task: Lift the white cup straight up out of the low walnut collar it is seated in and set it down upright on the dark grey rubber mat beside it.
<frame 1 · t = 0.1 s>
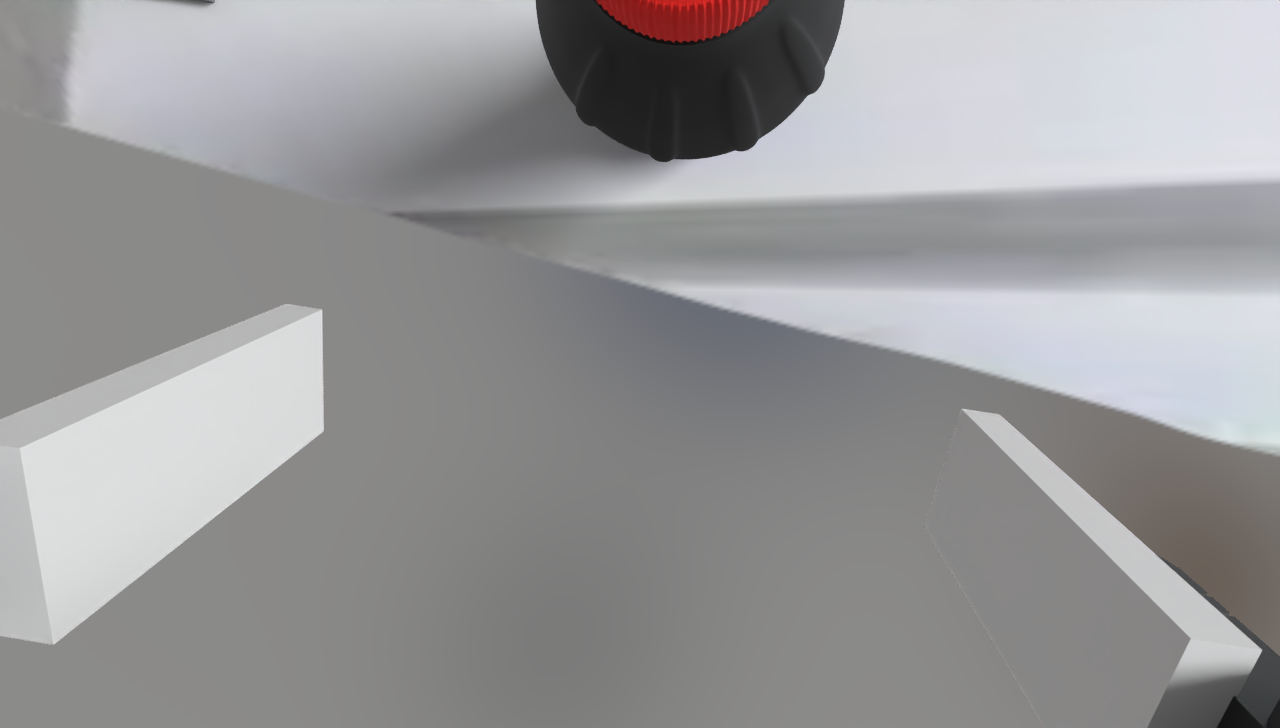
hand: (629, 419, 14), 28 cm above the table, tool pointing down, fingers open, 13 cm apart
cola bottle: (690, 70, 38), on the table
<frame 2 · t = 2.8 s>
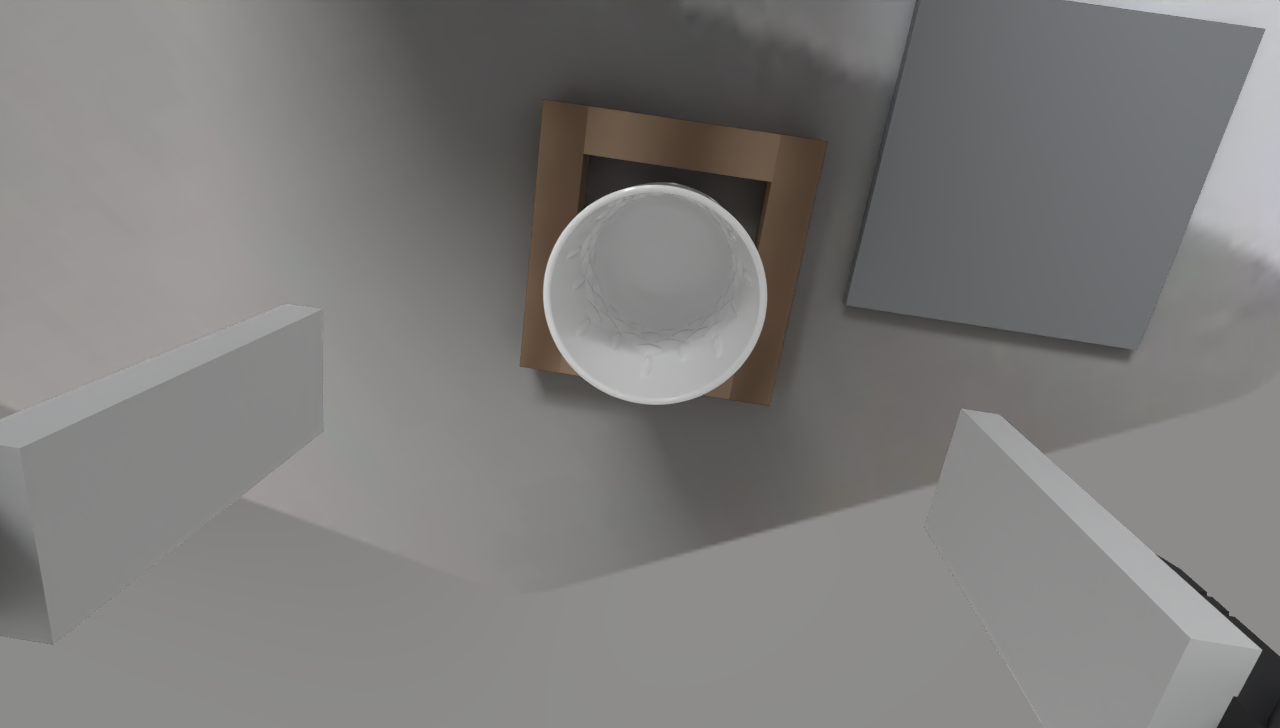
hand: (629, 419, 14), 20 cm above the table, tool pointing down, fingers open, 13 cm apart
grey mat: (1032, 177, 31), on the table
white cup: (664, 253, 34), resting in walnut collar
walnut collar: (664, 254, 33), on the table
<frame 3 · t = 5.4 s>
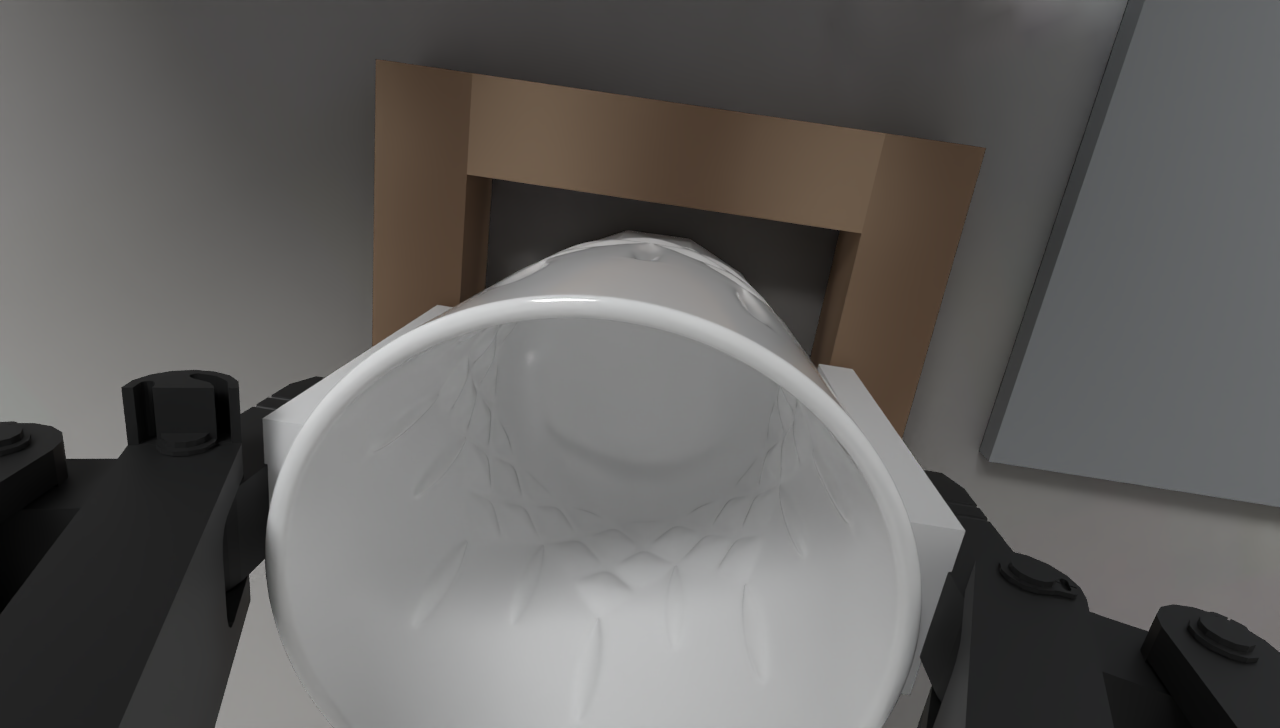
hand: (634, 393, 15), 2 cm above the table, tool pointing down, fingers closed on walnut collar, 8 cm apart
white cup: (642, 358, 18), resting in walnut collar
walnut collar: (641, 361, 18), on the table
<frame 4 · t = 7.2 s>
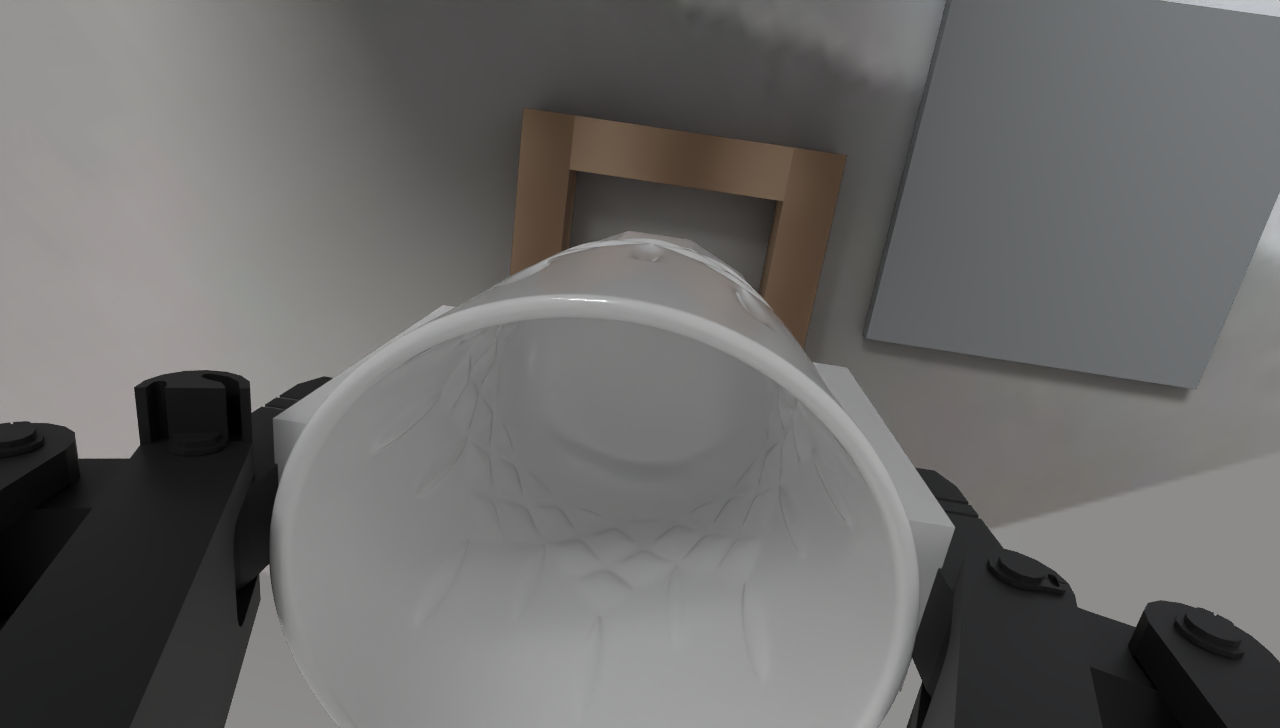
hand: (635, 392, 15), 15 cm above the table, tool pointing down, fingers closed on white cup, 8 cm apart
grey mat: (1078, 195, 27), on the table
white cup: (643, 358, 18), point 12 cm above the table, touching gripper
walnut collar: (662, 281, 30), on the table
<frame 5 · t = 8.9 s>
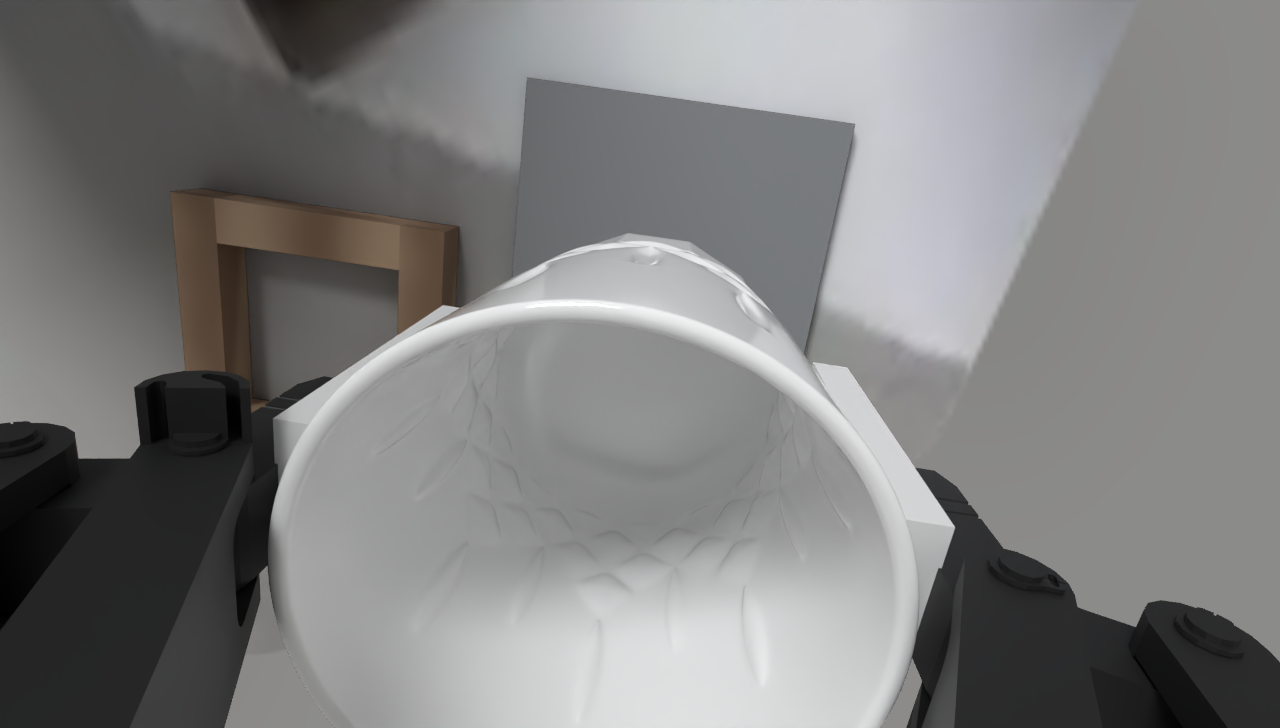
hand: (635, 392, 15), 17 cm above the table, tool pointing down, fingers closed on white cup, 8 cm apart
grey mat: (666, 261, 32), on the table
white cup: (642, 360, 18), point 15 cm above the table, touching gripper
walnut collar: (330, 333, 34), on the table
when the fingers open (4 cm above the table, at t = 11.7 s): white cup moves 1 cm, resting on grey mat.
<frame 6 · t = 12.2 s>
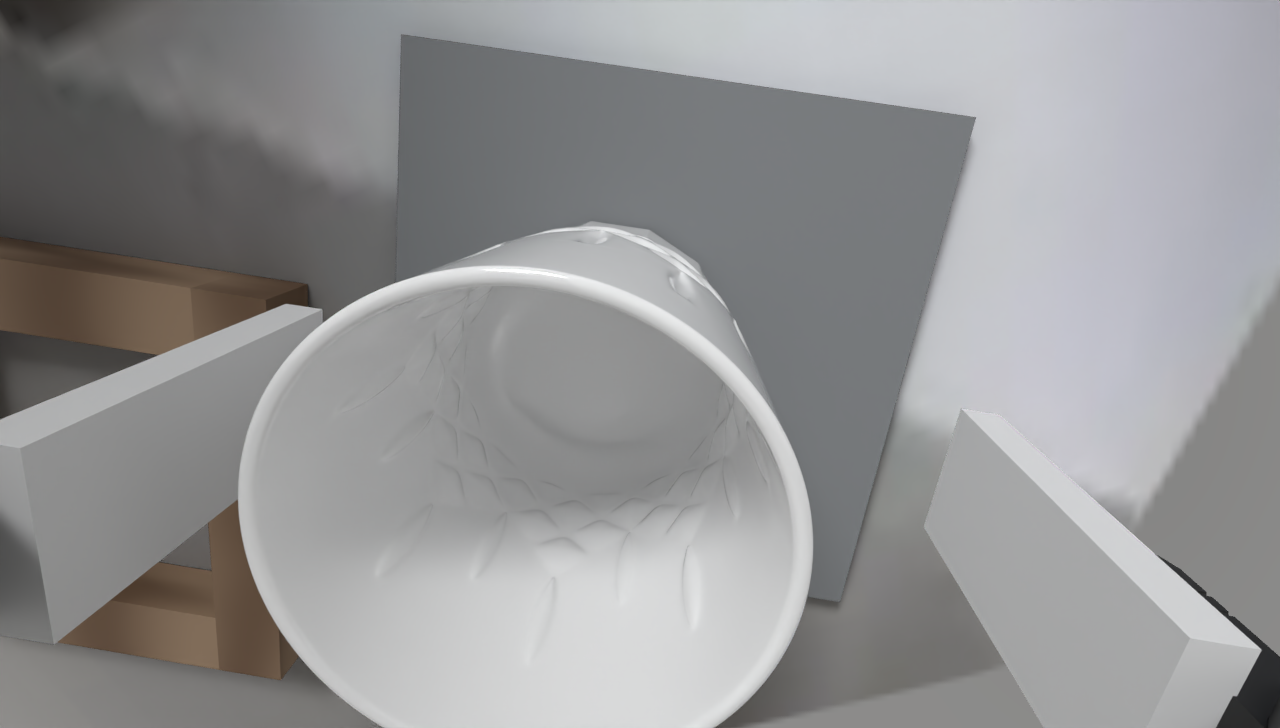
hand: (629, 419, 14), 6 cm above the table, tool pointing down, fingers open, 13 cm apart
grey mat: (646, 343, 19), on the table
white cup: (607, 343, 19), resting on grey mat
walnut collar: (119, 445, 22), on the table
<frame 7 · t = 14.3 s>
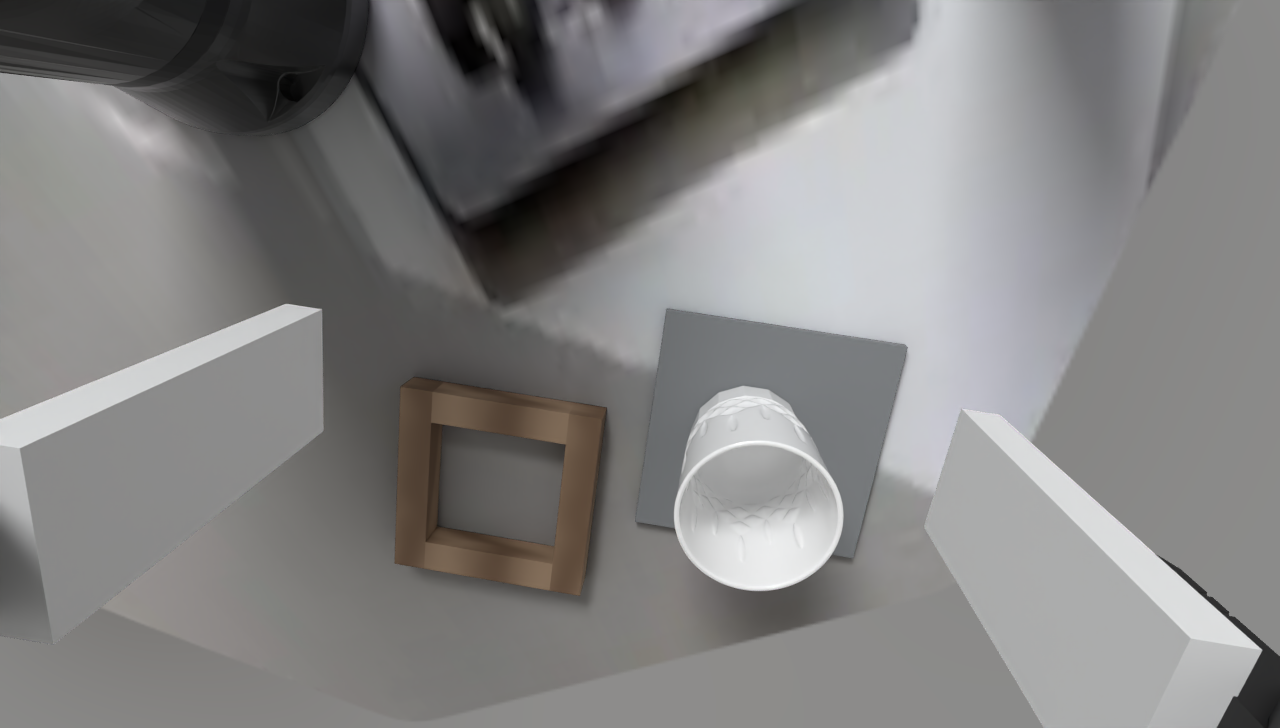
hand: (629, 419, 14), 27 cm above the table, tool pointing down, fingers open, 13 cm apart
grey mat: (762, 435, 42), on the table
white cup: (745, 436, 42), resting on grey mat
walnut collar: (502, 480, 45), on the table
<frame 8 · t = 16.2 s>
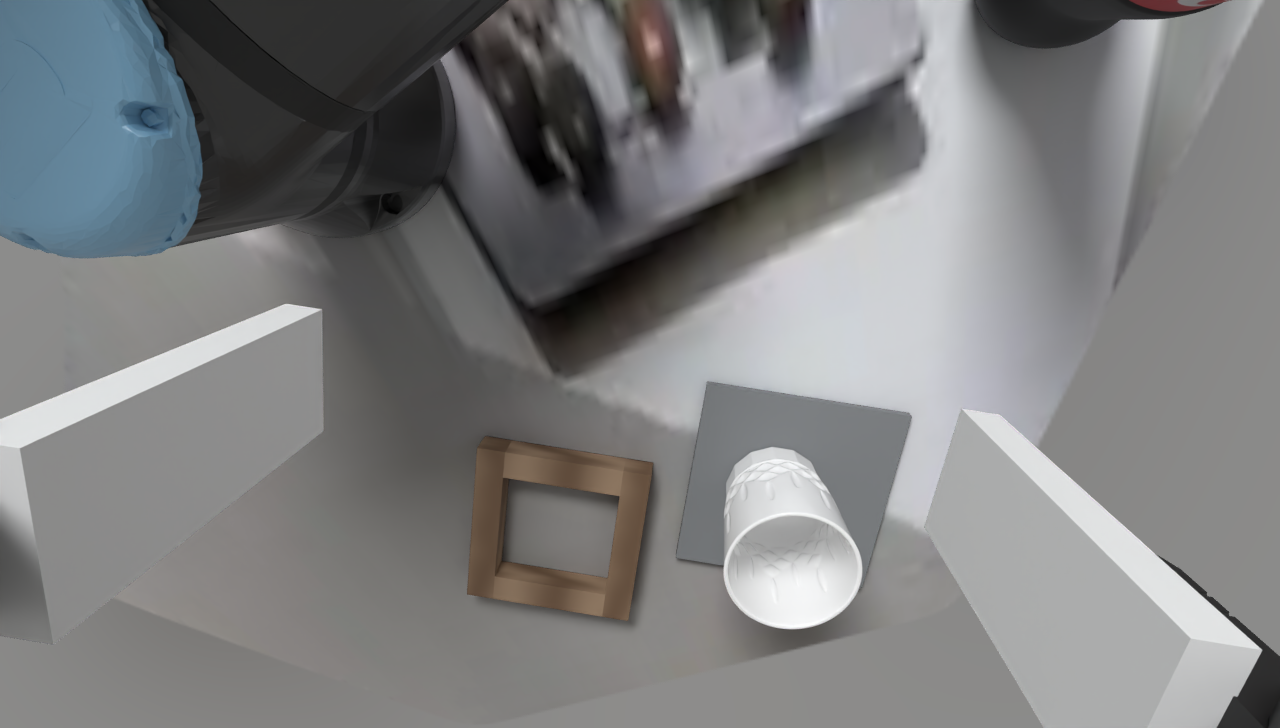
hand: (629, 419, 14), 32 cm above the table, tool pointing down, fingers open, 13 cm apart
grey mat: (786, 486, 49), on the table
white cup: (772, 487, 49), resting on grey mat
walnut collar: (560, 522, 52), on the table
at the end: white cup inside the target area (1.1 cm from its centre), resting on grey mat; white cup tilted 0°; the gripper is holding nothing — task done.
